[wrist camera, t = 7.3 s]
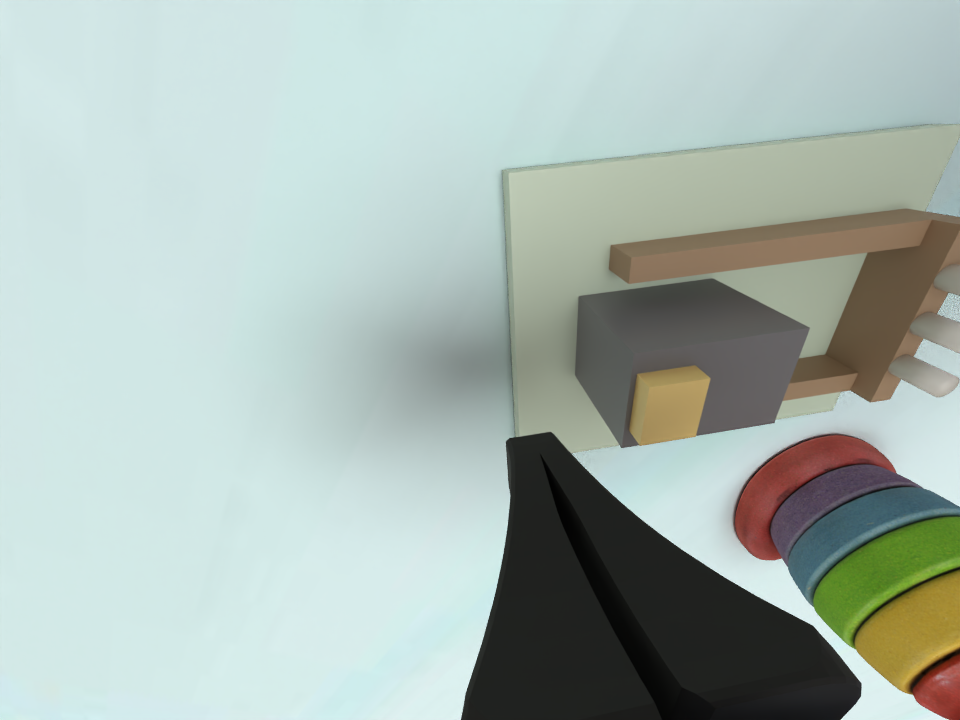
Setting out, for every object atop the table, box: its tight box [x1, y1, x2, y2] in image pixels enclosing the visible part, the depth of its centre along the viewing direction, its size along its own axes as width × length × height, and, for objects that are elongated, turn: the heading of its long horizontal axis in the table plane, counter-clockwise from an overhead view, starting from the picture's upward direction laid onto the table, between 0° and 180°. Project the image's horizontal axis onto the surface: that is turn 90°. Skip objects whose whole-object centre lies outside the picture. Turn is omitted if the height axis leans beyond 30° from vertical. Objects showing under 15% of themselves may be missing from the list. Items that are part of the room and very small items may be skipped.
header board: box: [502, 124, 960, 453], centre depth 17 cm, size 18×14×6 cm
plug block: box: [575, 278, 810, 448], centre depth 16 cm, size 6×4×6 cm, turn 95°
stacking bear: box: [735, 435, 960, 720], centre depth 20 cm, size 11×10×18 cm
